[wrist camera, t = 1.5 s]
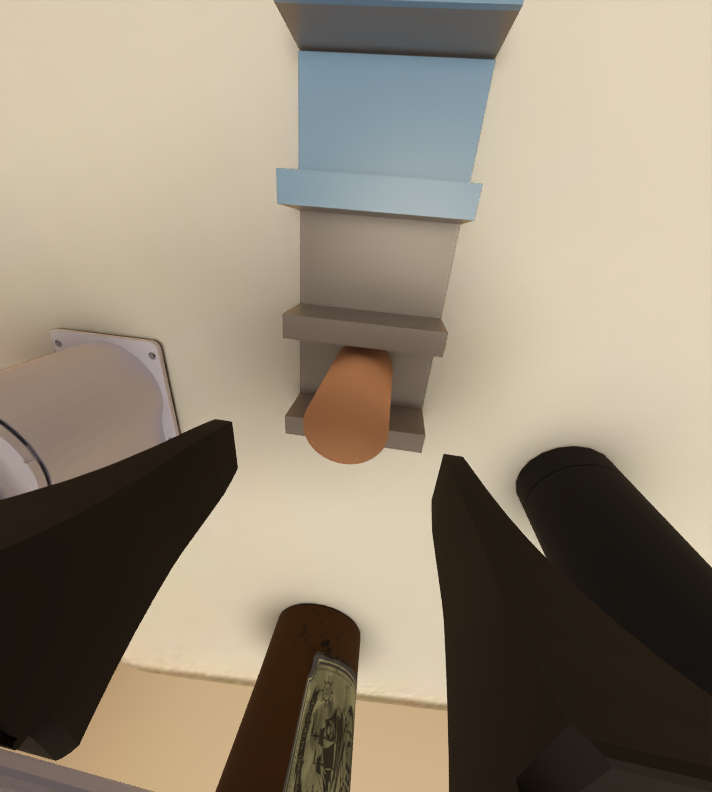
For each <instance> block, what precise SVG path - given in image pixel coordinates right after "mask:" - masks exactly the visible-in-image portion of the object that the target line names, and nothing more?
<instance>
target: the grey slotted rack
mask: <svg viewBox="0 0 712 792" xmlns="http://www.w3.org/2000/svg"><path fill="white" fill-rule="evenodd" d="M274 2H275V4H276V6H277V8H278V10H279V12H280V14H281V15H282V17H283V19H284V21H285V23H286V25H287V27H288V29H289V31H290V32H291V34H292V36H293V38H294V40H295V42H296V44H297V46H298V48H299V49H300V51H298V111H299V170H298V169H285V168H276V174H277V203H278V204H281V205H284V206H288V207H291V208H294V209H297V210H300V304H298V305H297V306H295V307H293V308H292V309H290V310H288V311H287V312H285V313H283V338H288V339H297V340H300V394H299V396H298V397H297V399H296V400H295V402H294V403H293V405H292V406H291V408H290V409H289V411H288V412H287V414H286V415H285V428H286V433H288V434H295V435H302V436H305V433H304V429H303V419H304V414H305V412H306V410H307V408H308V406H309V404H310V402H311V401H312V399H313V397H314V395H315V394H316V392H317V390H318V388H319V387H320V385H321V383H322V381H323V379H324V378H325V376H326V374H327V372H328V371H329V369H330V367H331V365H332V363H333V362H334V360H335V358H336V356H337V355H338V353H339V351H340V350H341V349H342V348H343V347H344V346H345V345H346V346H355V347H363V348H371V349H380V350H386V351H387V352H388V354H389V355H390V357H391V360H392V364H393V374H392V389H391V404H390V419H389V434H388V439H387V442H386V445H385V446H384V448H391V449H398V450H405V451H412V452H419V453H421V452H422V448H423V443H424V439H425V429H424V421H423V413H422V407H423V402H424V397H425V393H426V388H427V383H428V378H429V373H430V368H431V364H432V359H433V356H437V357H443V353H444V349H445V344H446V340H447V335H448V332H447V330H446V328H445V326H444V324H443V322H442V320H441V315H442V310H443V305H444V301H445V296H446V291H447V286H448V281H449V276H450V272H451V267H452V262H453V257H454V252H455V247H456V243H457V238H458V233H459V228H460V224H463V223H467V222H470V221H474V220H475V216H476V211H477V207H478V202H479V198H480V194H481V189H482V185H483V184H480V183H470V180H471V175H472V170H473V166H474V161H475V156H476V151H477V146H478V142H479V137H480V132H481V127H482V122H483V118H484V113H485V108H486V103H487V98H488V94H489V89H490V84H491V79H492V74H493V70H494V65H495V58H496V56H497V54H498V52H499V50H500V48H501V46H502V44H503V42H504V40H505V38H506V36H507V34H508V32H509V30H510V29H511V27H512V25H513V23H514V21H515V19H516V17H517V15H518V13H519V11H520V9H521V7H522V5H523V2H524V0H274Z"/></svg>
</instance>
